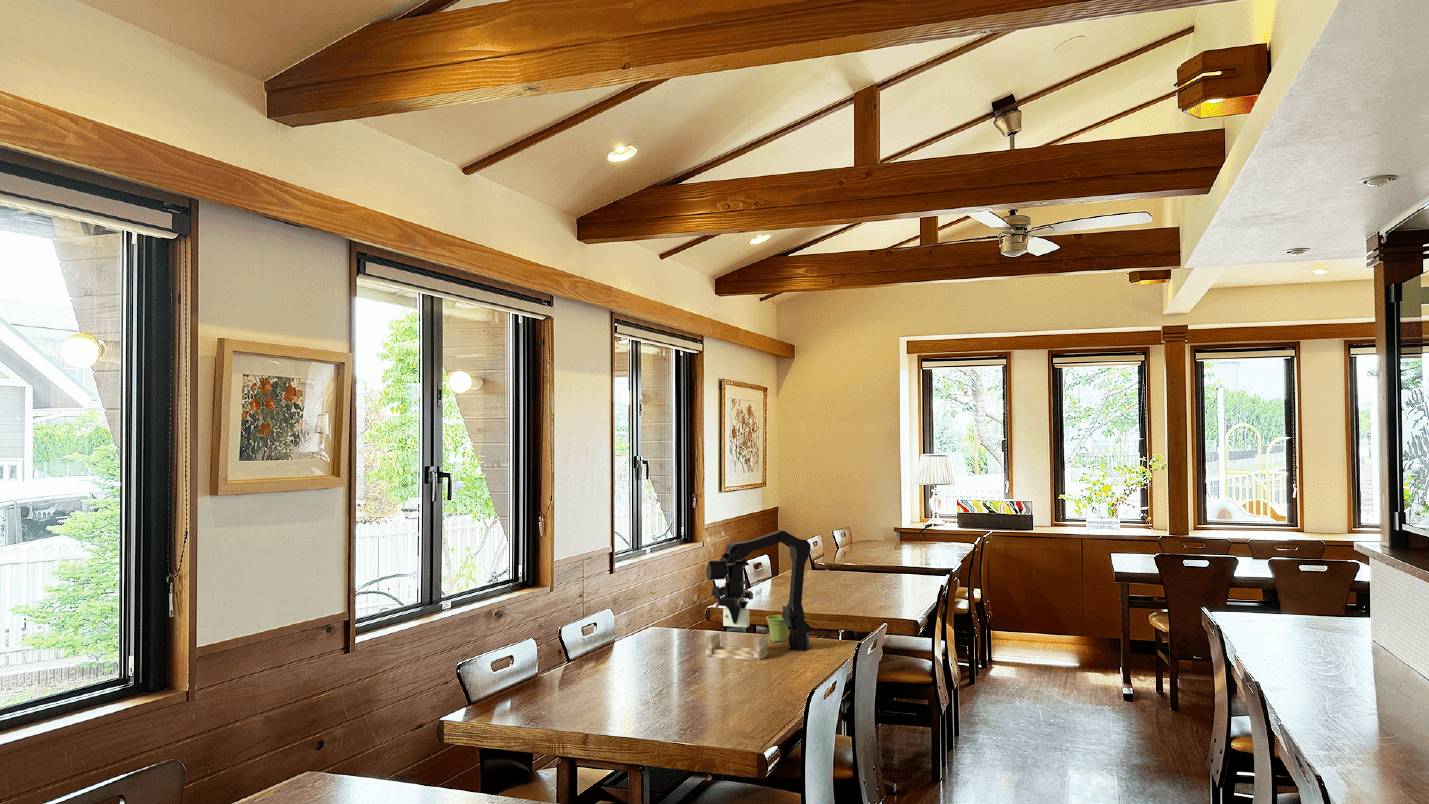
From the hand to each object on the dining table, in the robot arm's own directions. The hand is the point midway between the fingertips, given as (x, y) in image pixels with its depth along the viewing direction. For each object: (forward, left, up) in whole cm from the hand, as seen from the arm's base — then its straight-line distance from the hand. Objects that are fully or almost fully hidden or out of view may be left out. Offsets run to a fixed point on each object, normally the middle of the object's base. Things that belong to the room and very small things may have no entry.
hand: (736, 622), depth 320 cm
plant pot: (-6, -28, -12) cm, 31 cm away
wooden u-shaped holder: (0, +1, -11) cm, 11 cm away
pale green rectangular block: (0, 0, -1) cm, 1 cm away
